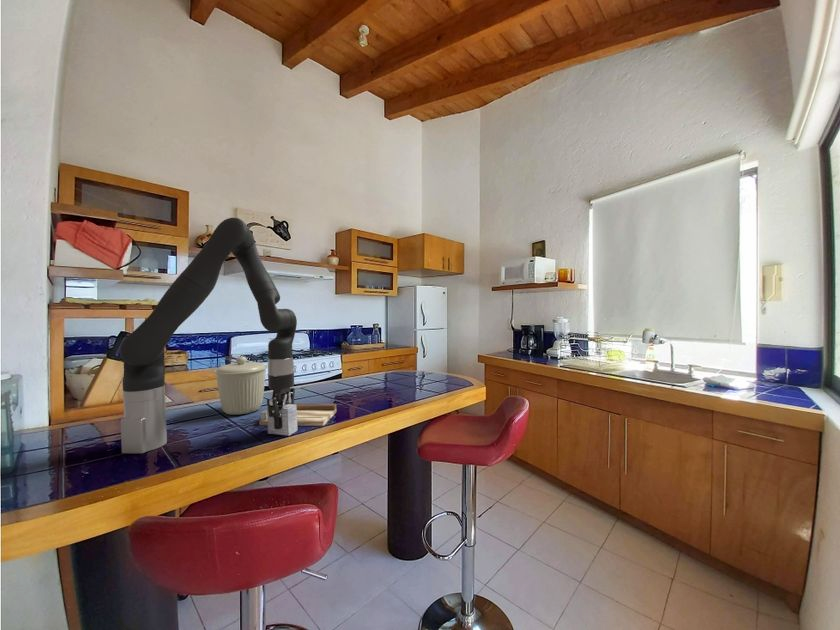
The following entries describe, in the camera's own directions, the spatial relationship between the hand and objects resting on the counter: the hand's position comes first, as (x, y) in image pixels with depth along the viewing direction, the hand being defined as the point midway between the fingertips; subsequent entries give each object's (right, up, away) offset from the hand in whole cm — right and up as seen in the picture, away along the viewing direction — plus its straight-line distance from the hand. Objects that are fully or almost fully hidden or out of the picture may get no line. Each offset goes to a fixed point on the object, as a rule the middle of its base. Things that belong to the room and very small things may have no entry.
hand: (282, 425), depth 103 cm
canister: (-25, -2, +22) cm, 34 cm away
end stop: (-9, -1, +13) cm, 16 cm away
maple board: (+1, -2, +13) cm, 13 cm away
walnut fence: (+1, 0, +19) cm, 19 cm away
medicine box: (0, -3, 0) cm, 3 cm away
